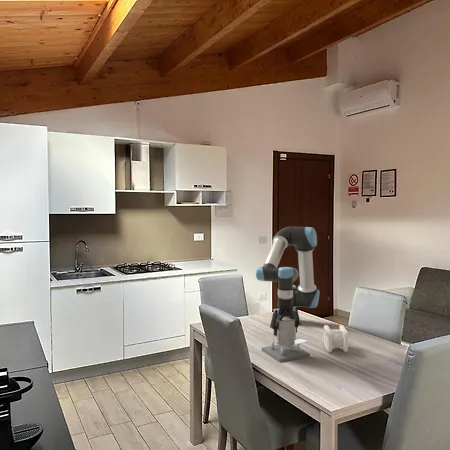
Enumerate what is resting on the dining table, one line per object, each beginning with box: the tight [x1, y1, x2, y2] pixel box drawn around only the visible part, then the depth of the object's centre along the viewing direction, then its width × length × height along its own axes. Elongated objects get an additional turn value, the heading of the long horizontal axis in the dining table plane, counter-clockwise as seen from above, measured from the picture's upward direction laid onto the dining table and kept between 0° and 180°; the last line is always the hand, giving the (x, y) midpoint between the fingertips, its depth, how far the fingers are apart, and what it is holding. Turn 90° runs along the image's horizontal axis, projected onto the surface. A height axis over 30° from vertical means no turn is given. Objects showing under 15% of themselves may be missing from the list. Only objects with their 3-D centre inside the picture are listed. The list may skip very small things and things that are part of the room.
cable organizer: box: [323, 324, 349, 353], centre depth 229 cm, size 15×11×12 cm
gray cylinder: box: [275, 317, 296, 346], centre depth 223 cm, size 10×10×12 cm
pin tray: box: [261, 340, 311, 363], centre depth 223 cm, size 18×18×6 cm
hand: (285, 340), depth 223 cm, fingers closed on gray cylinder, 9 cm apart
